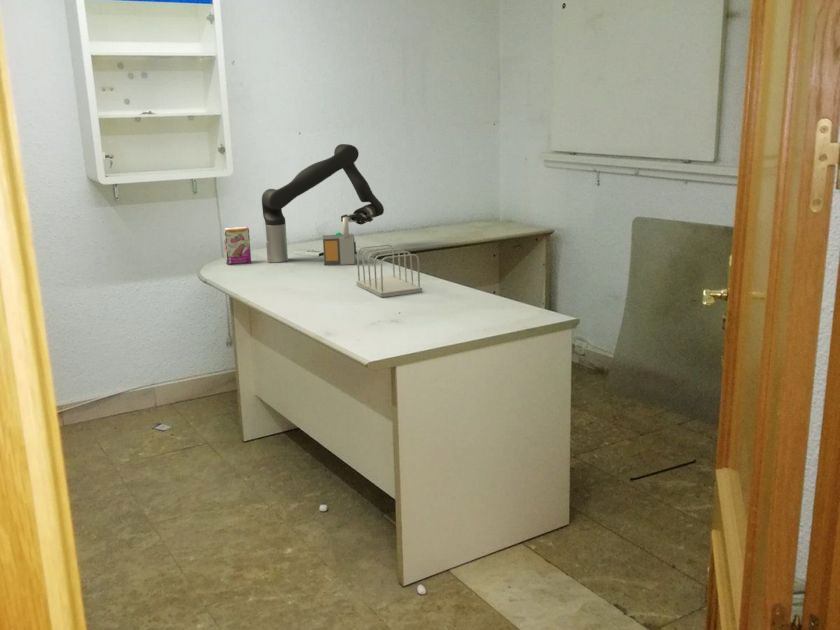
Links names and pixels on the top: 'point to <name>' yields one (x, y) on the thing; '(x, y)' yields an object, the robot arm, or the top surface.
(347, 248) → the grey spatula
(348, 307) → the top surface
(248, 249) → the candy bar box
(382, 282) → the file sorter
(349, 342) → the top surface
